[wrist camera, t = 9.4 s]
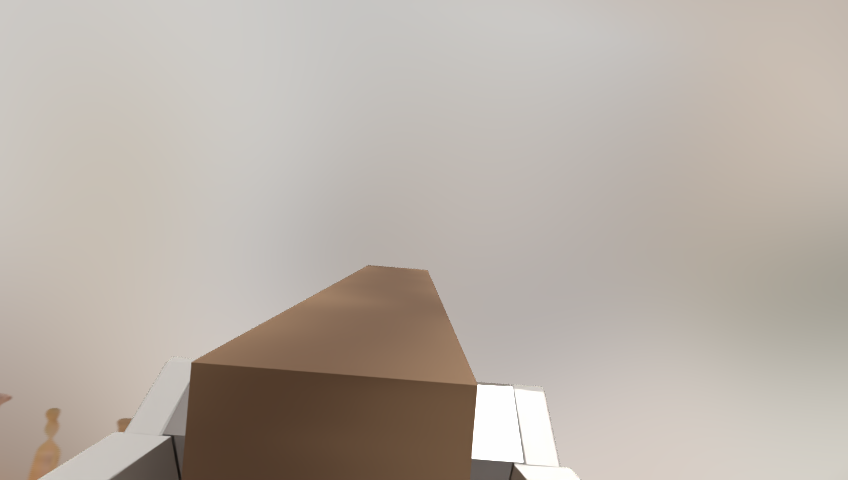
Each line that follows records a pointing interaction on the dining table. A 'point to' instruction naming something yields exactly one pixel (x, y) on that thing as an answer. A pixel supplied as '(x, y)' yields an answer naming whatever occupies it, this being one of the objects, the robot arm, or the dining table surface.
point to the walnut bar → (338, 390)
